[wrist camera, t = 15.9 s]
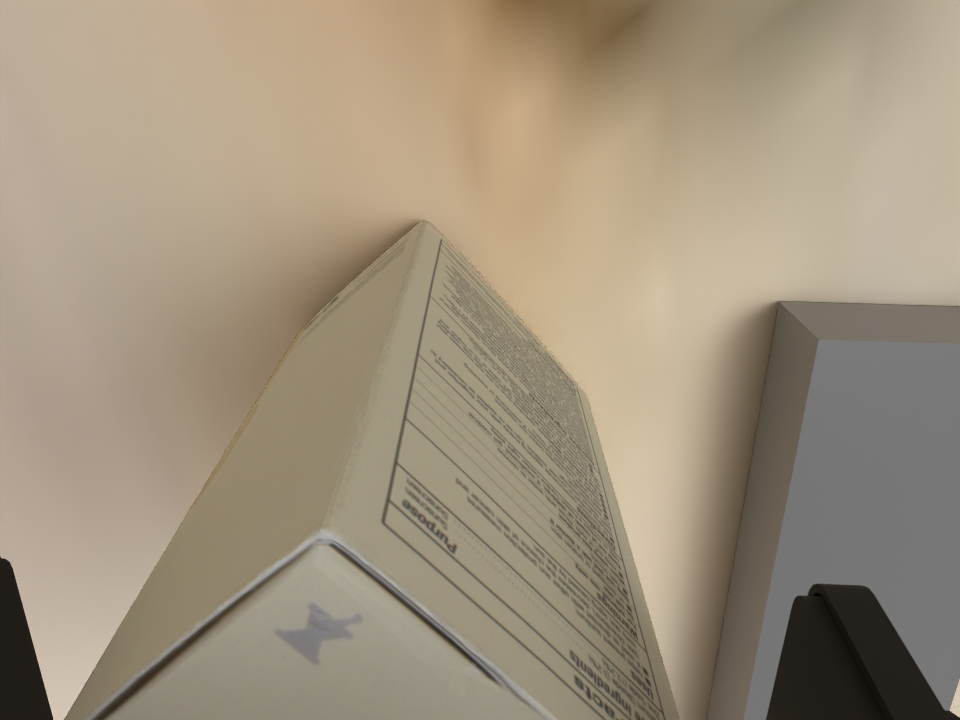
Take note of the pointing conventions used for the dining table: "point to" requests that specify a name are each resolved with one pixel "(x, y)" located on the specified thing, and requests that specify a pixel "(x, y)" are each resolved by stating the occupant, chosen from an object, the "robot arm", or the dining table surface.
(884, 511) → the socket block
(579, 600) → the skincare box
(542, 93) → the dining table surface
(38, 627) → the dining table surface
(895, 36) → the dining table surface
